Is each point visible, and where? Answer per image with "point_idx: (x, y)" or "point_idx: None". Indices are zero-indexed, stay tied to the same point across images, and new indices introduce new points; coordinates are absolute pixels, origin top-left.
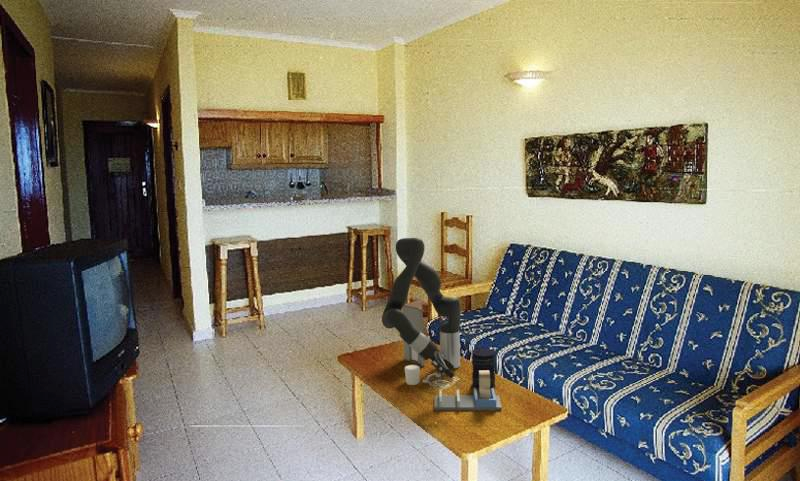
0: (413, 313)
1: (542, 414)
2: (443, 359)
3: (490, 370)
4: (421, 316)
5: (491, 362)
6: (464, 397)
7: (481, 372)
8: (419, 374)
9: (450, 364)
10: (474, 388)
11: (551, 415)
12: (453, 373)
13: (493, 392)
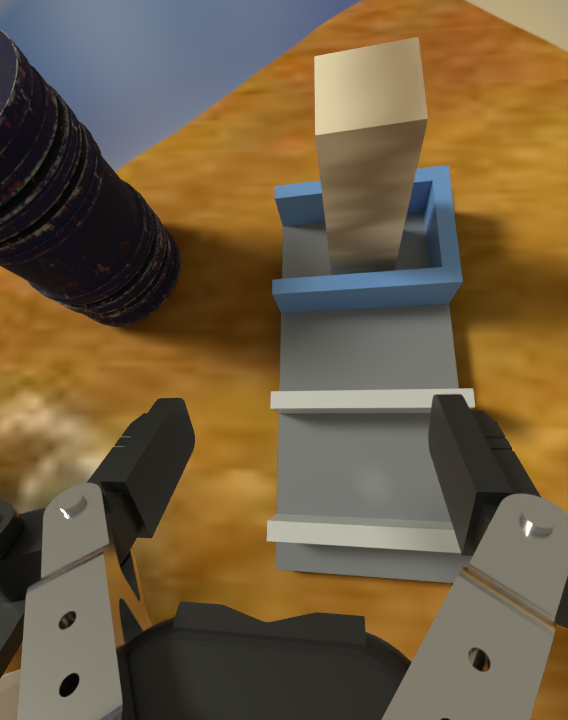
0: None
1: (458, 34)
2: (122, 573)
3: (109, 166)
4: None
5: (69, 107)
6: (310, 366)
7: (370, 108)
8: None
9: (161, 437)
10: (273, 290)
11: (464, 6)
12: (453, 403)
13: None
